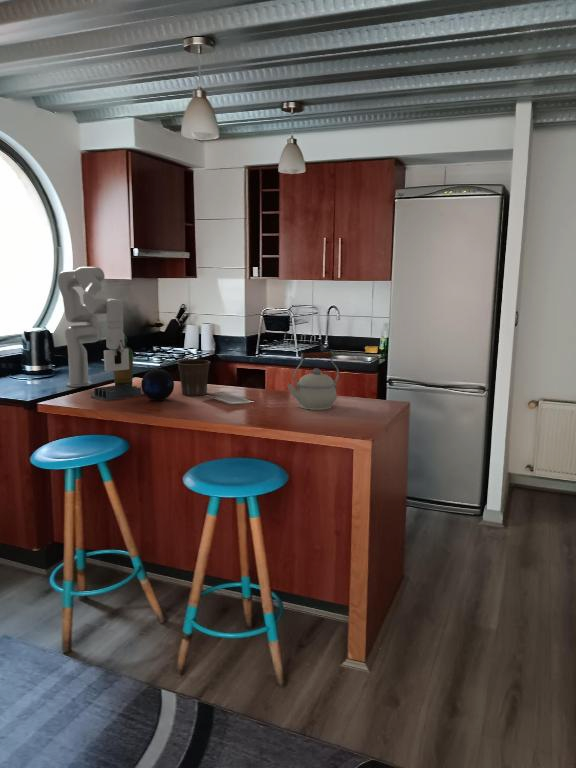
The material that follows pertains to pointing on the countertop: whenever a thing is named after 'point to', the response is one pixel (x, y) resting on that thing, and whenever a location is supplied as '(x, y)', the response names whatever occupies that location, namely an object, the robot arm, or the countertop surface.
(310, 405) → the kettle
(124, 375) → the bottle
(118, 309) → the robot arm
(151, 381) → the decorative sphere
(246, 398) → the countertop surface
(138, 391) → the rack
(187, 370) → the plant pot
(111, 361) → the small white box
